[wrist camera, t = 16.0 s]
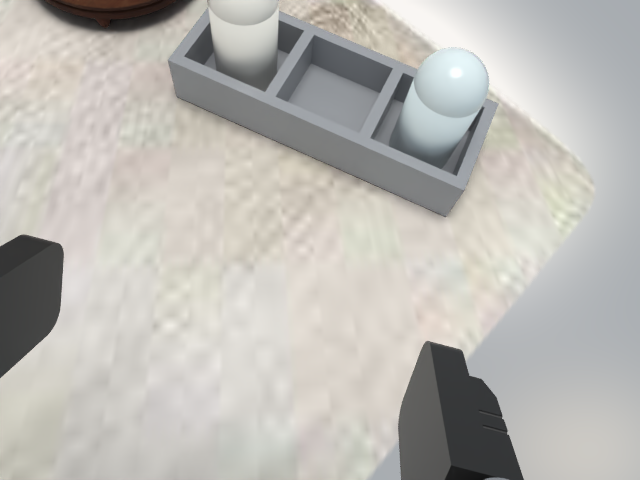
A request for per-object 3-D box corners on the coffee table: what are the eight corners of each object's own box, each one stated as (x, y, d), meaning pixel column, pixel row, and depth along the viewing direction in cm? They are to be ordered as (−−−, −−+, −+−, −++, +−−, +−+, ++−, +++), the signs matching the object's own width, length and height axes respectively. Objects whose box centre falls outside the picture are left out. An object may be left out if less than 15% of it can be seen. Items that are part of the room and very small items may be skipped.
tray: (176, 96, 41) (167, 59, 37) (227, 27, 44) (223, -13, 40) (445, 216, 39) (464, 190, 35) (478, 135, 42) (498, 103, 38)
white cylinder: (205, 81, 40) (188, -23, 32) (234, 39, 42) (226, -69, 33) (260, 105, 40) (258, 6, 31) (287, 62, 42) (292, -42, 33)
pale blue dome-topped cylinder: (379, 158, 39) (413, 73, 30) (401, 112, 41) (439, 19, 32) (438, 184, 38) (488, 105, 30) (457, 136, 40) (510, 49, 32)
